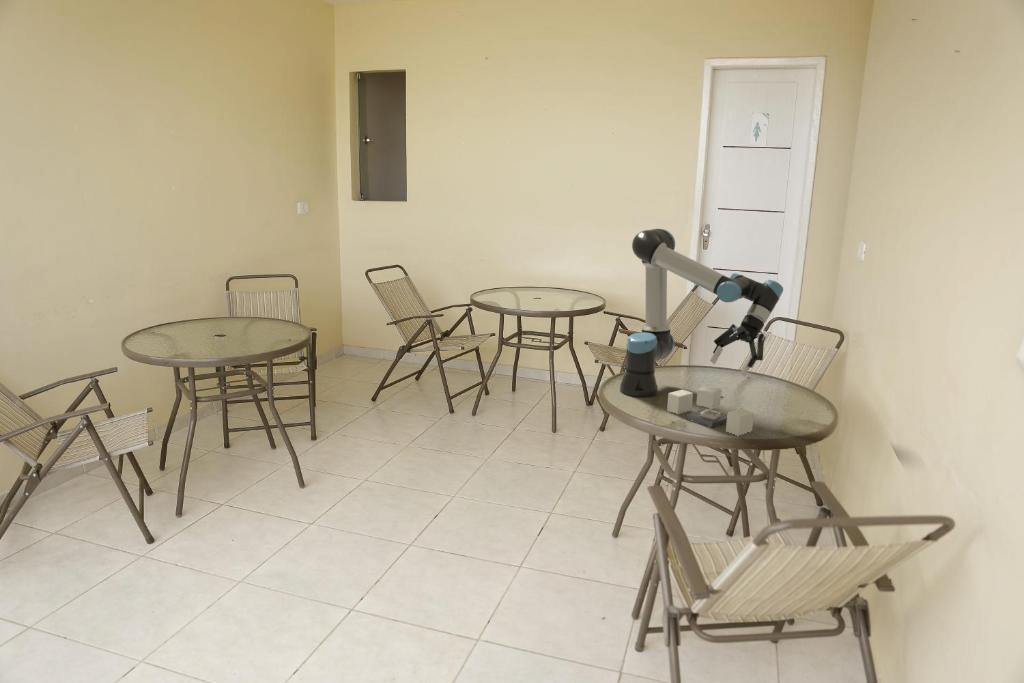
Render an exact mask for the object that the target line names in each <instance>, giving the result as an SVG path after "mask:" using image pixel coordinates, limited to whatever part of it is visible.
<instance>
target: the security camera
mask: <svg viewBox="0 0 1024 683" xmlns="http://www.w3.org/2000/svg"><path fill="white" fill-rule="evenodd" d="M696 394H697V395H696V406H701V407H705V408H707V410H705V411H703V412H701V413H700V416H701V417H705V418H709V419H713V420H715V419H716V418H718V417H720V416H721V414H722V413H721V412H719V411H716V410H714V409H717V408H718V407H720V405H721V402H722V401H721V399H722V389H721V388H718V387H713V386H708V385H703V386H701V387H700V388H698V389H697V392H696Z"/></svg>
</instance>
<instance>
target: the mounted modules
mask: <svg viewBox="0 0 1024 683" xmlns="http://www.w3.org/2000/svg"><path fill="white" fill-rule="evenodd" d="M693 395H694V392H691V391H688V390H685V389H680V390H675V391H671V392H668V395H667V408H666V410H667V411H666V412H669V411H670V412H669V413H671V412H673V413H672V414H674V413H676V414H675V415H677V414H678V415H681V414H680V413H682V414H684V413H683V412H685V413H688V412H687V411H689V412H692V411H691V410H693V407H692V406H693V397H694V396H693ZM754 415H755V412H754V411H751V410H747V409H745V408H739V409H735V410H732V411H729V412H727V415H726V416H727V423H726V425H725V433H727V432H729V433H728V434H730V433H732V434H731V435H733V434H735V435H734V436H736V435H741V436H743V435H745V434H744V433H746V434H748V433H747V432H749V433H751V432H750V431H752V432H753V425H754V424H753V423H754V417H755V416H754ZM742 434H743V435H742Z"/></svg>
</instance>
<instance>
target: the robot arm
mask: <svg viewBox="0 0 1024 683" xmlns="http://www.w3.org/2000/svg"><path fill="white" fill-rule="evenodd" d="M631 243H632V244H631V248H632V251H633V254H634V255H635V256H636V257H637V258H638V259H639V260H641V264H642V265H643V266H644V267H645V324H644V325H643V326H642V328H641V332H635V333H632V334H630V335H629V336H628V338H627V342H626V354H625V355H626V356H625V372H624V375H623V376H622V377H623V378H622V380H621V383H620V384H619V385H620V387H619V391H620V392H621V393H623V394H624V395H626V396H632V397H638V398H646V397H647V398H649V397H652V396H656V395H658V390H659V386H658V385H657V379H656V376H655V374H656V373H655V372H656V370H655V369H656V363H657V362H658V361H660V360H663V359H665V358H667V357H668V356H669V355H671V353H672V352H673V351H674V347H675V339H674V337H673V335H672V334H671V327H670V326H669V325H668V322H667V320H668V319H667V314H668V312H667V309H668V308H667V307H668V306H667V305H668V304H667V303H668V300H667V299H668V298H667V296H668V284H667V283H668V280H667V279H668V271H669V272H671V273H673V274H675V275H676V276H679V277H681V278H683V279H685V280H686V281H688V282H691V283H693V284H694V285H697V286H698V287H700V288H703V289H704V290H707V291H709V292H711V293H712V294H715V295H716V296H717V298H718V299H719V300H720V301H722V302H723V303H734V302H736V301H738V300H740V299H745V300H747V301H749V302H750V301H751V302H752V303H751V305H750V307H749V308H748V310H747V311H746V315H744V318H743V319H742V321H741V323H740V326H737V325H736V324H734V323H733V324H731V325H730V326H729V328H728V329H727V330H725V331H724V332H723V333H721V335H719V336H718V337H716V338H715V339H714V340H713V343H714V344H715V345H716V346H715V348H714V349H713V352H712V353H713V354H712V356H711V358H710V359H709V361H710V362H711V363H712V364H713V365H716V363H717V361H718V359H719V357H720V356H721V354H722V353H723V351H724V349H723V348H725V347H726V346H728V345H730V344H732V343H735V342H736V341H739V340H740V341H741V342H745V343H747V344H749V350H750V354H751V356H748V358H747V360H746V362H745V363H744V365H743V367H742V369H741V370H740V373H741V375H743V376H746V375H747V373H748V372H749V370H750V369H751V368H753V367H754V365H755V363H756V362H757V361H761V362H762V361H763V359H764V347H765V344H764V343H765V341H766V338H767V337H766V335H765V334H763V332H762V330H763V328H764V326H765V324H766V322H767V321H768V319H769V318H770V316H771V314H772V312H773V310H774V309H775V307H776V305H777V303H778V302H779V300H780V299H781V296H782V294H783V291H784V287H783V286H782V285H781V284H780V282H778V281H776V280H772V279H766V280H765V281H764V282H763V283H762V282H759V281H756V280H754V279H752V278H749V277H747V276H745V275H743V274H739V273H737V272H734V273H731V275H730V276H726V275H724V274H722V273H720V272H718V271H716V270H714V269H713V268H710V267H708V266H706V265H704V264H702V263H700V262H698V261H697V260H694V259H692V258H690V257H688V256H686V255H684V254H681V253H679V252H678V251H676V250H675V248H676V240H675V237H674V236H673V234H672V233H671V232H670V231H668V230H667V229H663V228H651V229H646V230H645V229H644V230H642V231H640V232H638V233H637V234H636V235H635V236H634V238H633V240H632V242H631ZM755 339H757V349H756V342H755Z"/></svg>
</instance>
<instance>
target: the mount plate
mask: <svg viewBox="0 0 1024 683" xmlns="http://www.w3.org/2000/svg"><path fill="white" fill-rule="evenodd" d="M707 409H708V408H707ZM707 409H706V408H703V409H699V410H696V411H691V412H689V413H687V414H686V420H688V419H690V420H693V421H695V422H694V423H696V422H698V423H697V424H699V423H700V424H699V425H702V424H703V425H702V426H704V425H706V426H705V427H707V426H709V427H708V428H710V427H711V428H710V429H713V427H714V428H716V426H717V427H720V426H723V425H725V424H727V415H724V414H722V413H721V416H720V417H718V418H716V419H715V420H713V419H709V418H705V417H701V416H700V413H701V412H703V411H705V410H707ZM690 420H689V421H690ZM693 421H692V422H693Z"/></svg>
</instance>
